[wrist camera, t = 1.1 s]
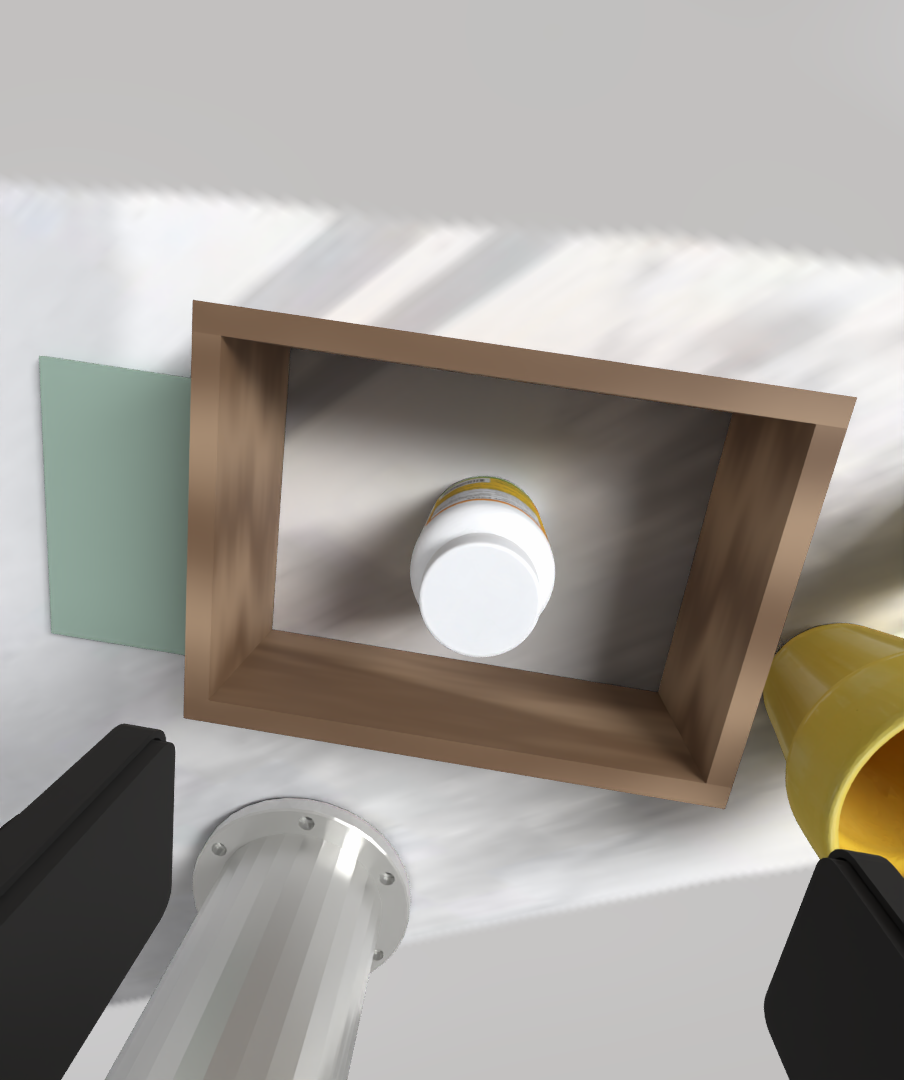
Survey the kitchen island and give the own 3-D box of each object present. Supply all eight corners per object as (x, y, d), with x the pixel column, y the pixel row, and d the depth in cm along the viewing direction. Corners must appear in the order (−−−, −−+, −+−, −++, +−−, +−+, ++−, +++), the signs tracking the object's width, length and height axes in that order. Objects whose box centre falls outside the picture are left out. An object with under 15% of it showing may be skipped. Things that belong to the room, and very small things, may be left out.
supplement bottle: (506, 601, 29) (512, 705, 20) (409, 551, 29) (369, 632, 19) (562, 507, 28) (597, 571, 18) (461, 453, 27) (444, 490, 18)
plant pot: (699, 618, 28) (801, 734, 19) (925, 556, 27) (1157, 649, 18) (744, 793, 31) (854, 973, 21) (954, 745, 29) (1172, 917, 20)
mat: (223, 656, 31) (219, 660, 30) (58, 629, 31) (51, 633, 31) (234, 384, 27) (229, 384, 27) (46, 356, 27) (38, 355, 27)
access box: (672, 712, 30) (725, 809, 23) (252, 643, 30) (183, 717, 24) (761, 393, 26) (856, 397, 19) (270, 321, 26) (192, 299, 19)
